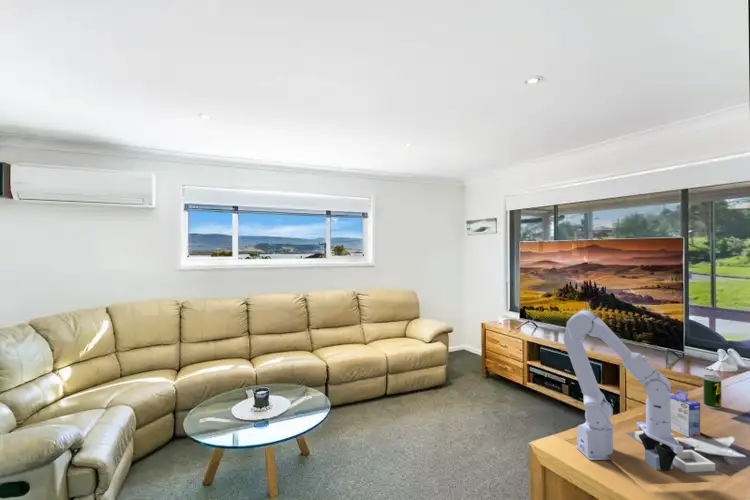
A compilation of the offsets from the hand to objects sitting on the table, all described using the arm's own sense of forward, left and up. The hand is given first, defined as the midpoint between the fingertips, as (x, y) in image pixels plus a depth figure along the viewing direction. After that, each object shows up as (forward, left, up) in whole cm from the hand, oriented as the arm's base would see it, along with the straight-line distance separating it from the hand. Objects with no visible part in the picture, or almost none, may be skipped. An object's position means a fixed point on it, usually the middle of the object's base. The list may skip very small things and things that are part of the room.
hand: (658, 465), depth 109 cm
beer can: (+55, +40, -2) cm, 68 cm away
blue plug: (0, 0, -2) cm, 2 cm away
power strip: (+9, +7, -1) cm, 11 cm away
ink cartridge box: (+24, +20, -2) cm, 31 cm away
